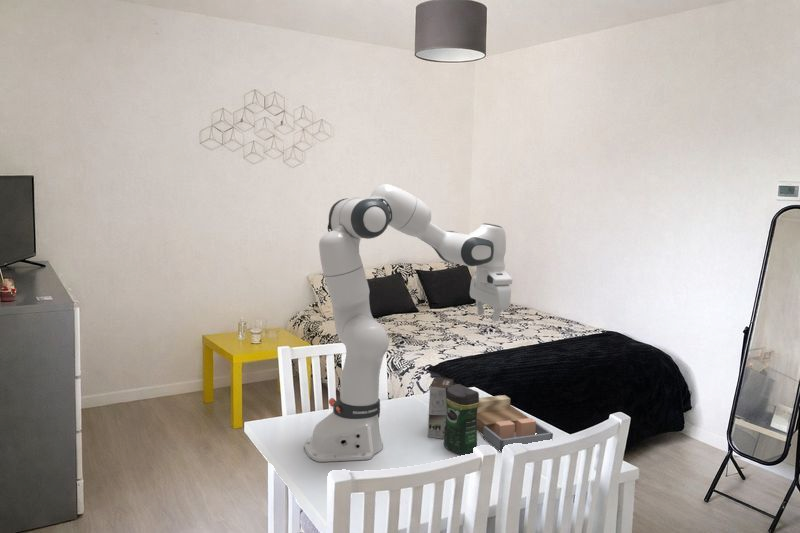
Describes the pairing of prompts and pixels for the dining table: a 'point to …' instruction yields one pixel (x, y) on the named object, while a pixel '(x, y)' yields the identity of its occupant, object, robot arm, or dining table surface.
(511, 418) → the board
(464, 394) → the coffee jar
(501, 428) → the tile
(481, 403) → the beige wooden block
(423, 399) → the dining table surface
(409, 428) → the dining table surface
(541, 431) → the tray
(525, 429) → the tile
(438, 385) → the coffee box
